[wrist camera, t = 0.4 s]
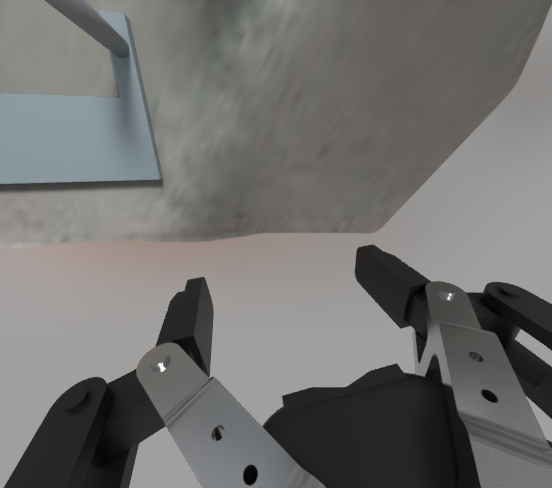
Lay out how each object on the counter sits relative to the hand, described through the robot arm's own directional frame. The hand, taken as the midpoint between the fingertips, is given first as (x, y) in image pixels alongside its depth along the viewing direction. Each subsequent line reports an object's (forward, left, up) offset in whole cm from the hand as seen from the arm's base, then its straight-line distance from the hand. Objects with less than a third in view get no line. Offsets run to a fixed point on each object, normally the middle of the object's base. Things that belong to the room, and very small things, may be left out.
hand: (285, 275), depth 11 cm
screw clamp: (-11, -24, -28) cm, 39 cm away
